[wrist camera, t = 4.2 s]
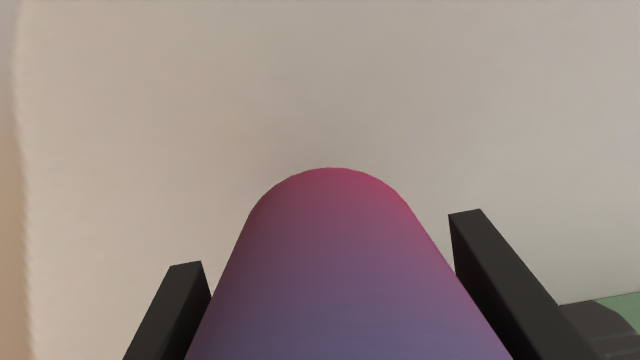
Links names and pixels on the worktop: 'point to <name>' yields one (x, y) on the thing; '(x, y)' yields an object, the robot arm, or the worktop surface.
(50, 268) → the worktop surface
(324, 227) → the cup
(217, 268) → the worktop surface
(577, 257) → the worktop surface
